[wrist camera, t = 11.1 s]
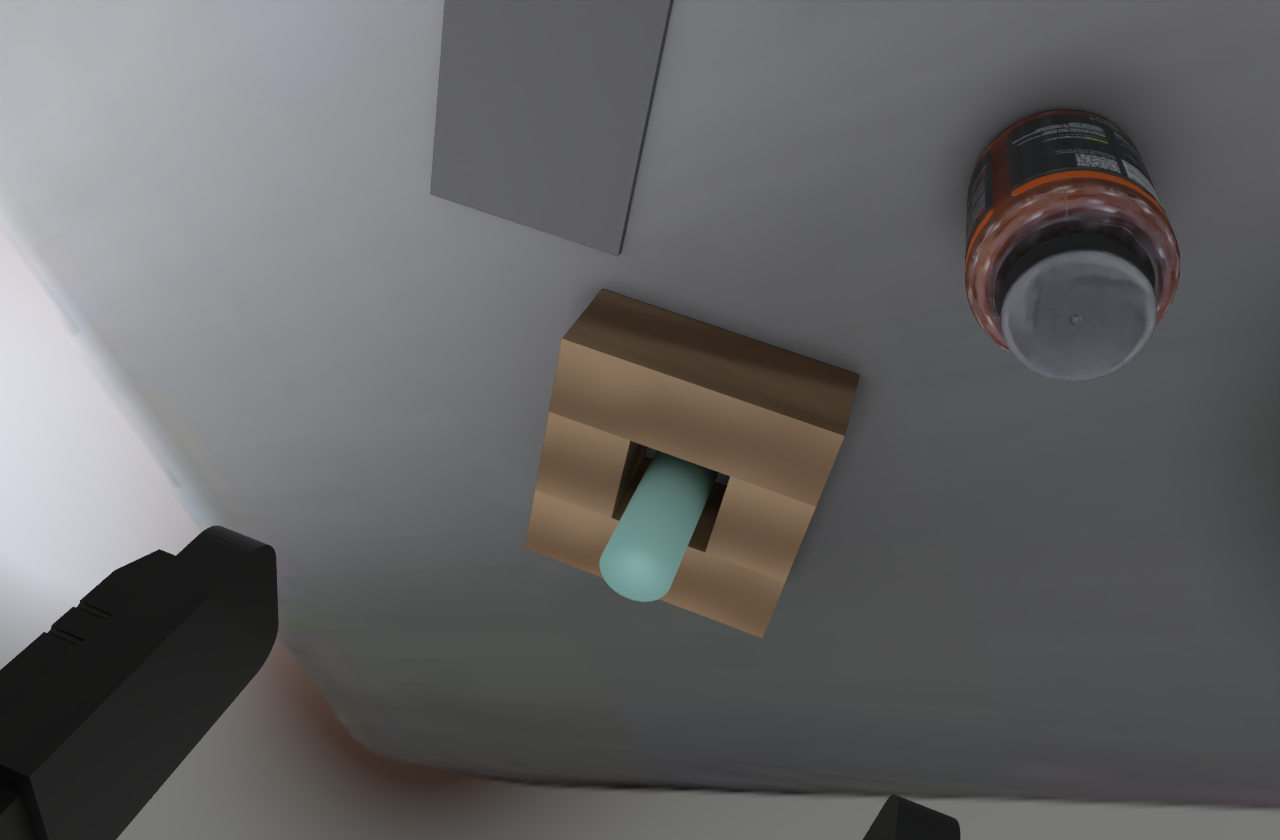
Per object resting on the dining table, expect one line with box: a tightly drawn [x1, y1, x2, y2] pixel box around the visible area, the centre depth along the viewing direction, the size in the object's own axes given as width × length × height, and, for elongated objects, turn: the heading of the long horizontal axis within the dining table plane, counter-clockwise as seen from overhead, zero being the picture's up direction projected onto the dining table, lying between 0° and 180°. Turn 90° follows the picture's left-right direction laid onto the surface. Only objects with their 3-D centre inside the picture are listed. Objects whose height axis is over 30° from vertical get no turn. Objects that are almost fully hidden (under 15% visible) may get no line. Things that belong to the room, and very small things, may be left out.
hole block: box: [525, 289, 859, 638], centre depth 44 cm, size 12×12×5 cm
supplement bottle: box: [965, 110, 1180, 381], centre depth 31 cm, size 6×6×11 cm
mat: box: [430, 0, 673, 256], centre depth 39 cm, size 12×9×1 cm
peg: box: [599, 450, 719, 602], centre depth 42 cm, size 3×3×10 cm
